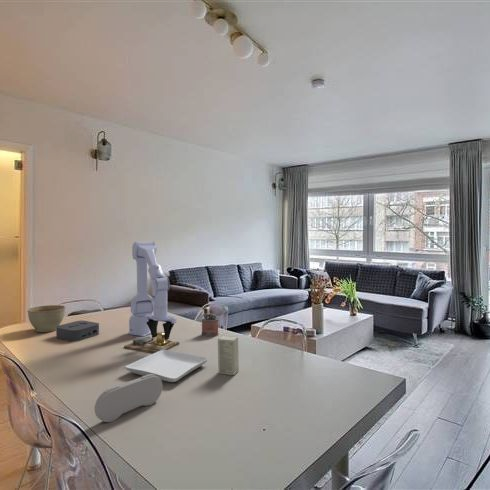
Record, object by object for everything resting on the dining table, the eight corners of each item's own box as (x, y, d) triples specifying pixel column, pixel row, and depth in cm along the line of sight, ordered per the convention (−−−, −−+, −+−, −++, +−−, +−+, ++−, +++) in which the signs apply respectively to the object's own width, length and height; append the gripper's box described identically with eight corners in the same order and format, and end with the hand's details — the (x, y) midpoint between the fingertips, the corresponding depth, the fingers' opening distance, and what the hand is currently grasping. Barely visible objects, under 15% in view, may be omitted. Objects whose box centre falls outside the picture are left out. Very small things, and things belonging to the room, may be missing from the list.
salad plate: (209, 365, 130) (209, 356, 130) (175, 388, 111) (175, 377, 111) (163, 356, 139) (163, 348, 139) (123, 376, 120) (123, 366, 120)
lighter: (218, 333, 170) (219, 313, 170) (217, 336, 166) (217, 314, 166) (202, 333, 171) (202, 312, 170) (200, 335, 167) (200, 314, 167)
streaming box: (80, 330, 175) (80, 320, 175) (101, 334, 169) (101, 323, 169) (53, 338, 162) (53, 326, 162) (75, 342, 156) (75, 331, 156)
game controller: (158, 397, 104) (158, 369, 104) (162, 400, 103) (162, 371, 103) (93, 424, 90) (93, 392, 89) (98, 427, 88) (98, 394, 88)
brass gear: (151, 346, 148) (151, 334, 148) (159, 342, 153) (159, 331, 153) (162, 347, 146) (162, 335, 146) (170, 344, 151) (170, 332, 151)
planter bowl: (72, 328, 177) (72, 307, 176) (38, 336, 163) (38, 313, 163) (54, 324, 185) (54, 303, 185) (21, 331, 172) (20, 308, 171)
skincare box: (238, 371, 125) (239, 336, 124) (234, 375, 120) (234, 340, 120) (222, 368, 127) (222, 334, 126) (217, 373, 122) (217, 338, 122)
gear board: (124, 347, 148) (124, 342, 148) (146, 338, 161) (146, 333, 161) (159, 354, 141) (159, 348, 141) (179, 344, 154) (179, 338, 154)
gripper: (140, 306, 148) (140, 338, 149) (169, 309, 142) (169, 343, 143) (151, 303, 155) (151, 334, 155) (179, 306, 149) (179, 338, 149)
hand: (160, 338), depth 149 cm, fingers open, 6 cm apart
